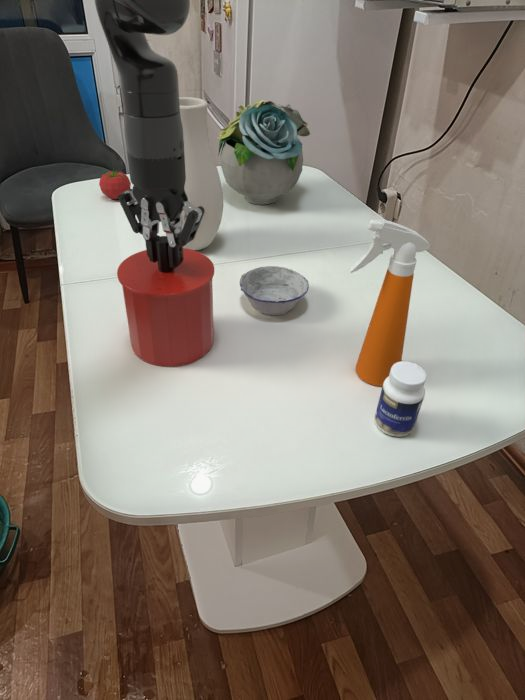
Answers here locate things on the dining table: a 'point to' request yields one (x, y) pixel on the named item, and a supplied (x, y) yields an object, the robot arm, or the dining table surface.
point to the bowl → (273, 289)
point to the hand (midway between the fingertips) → (165, 262)
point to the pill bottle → (401, 399)
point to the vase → (200, 171)
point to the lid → (165, 272)
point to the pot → (170, 326)
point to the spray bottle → (389, 299)
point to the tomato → (114, 184)
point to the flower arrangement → (263, 151)
